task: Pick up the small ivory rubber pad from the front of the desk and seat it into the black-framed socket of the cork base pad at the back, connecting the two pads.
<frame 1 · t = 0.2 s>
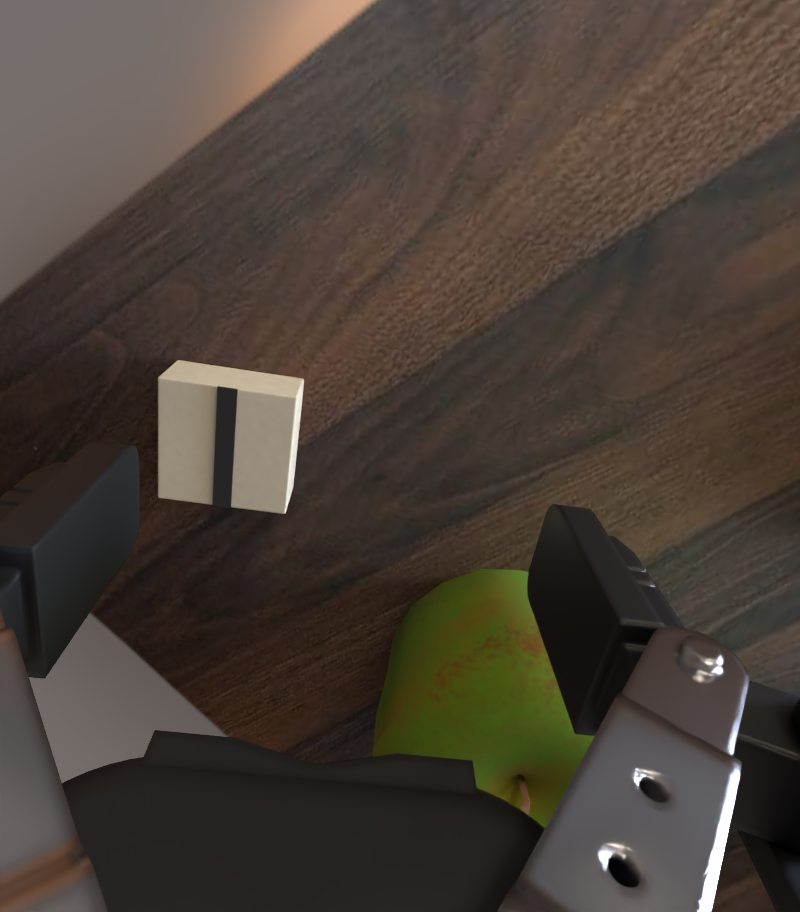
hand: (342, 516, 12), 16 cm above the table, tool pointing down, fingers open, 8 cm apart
apple: (484, 626, 34), on the table
ivory pad: (238, 426, 28), on the table
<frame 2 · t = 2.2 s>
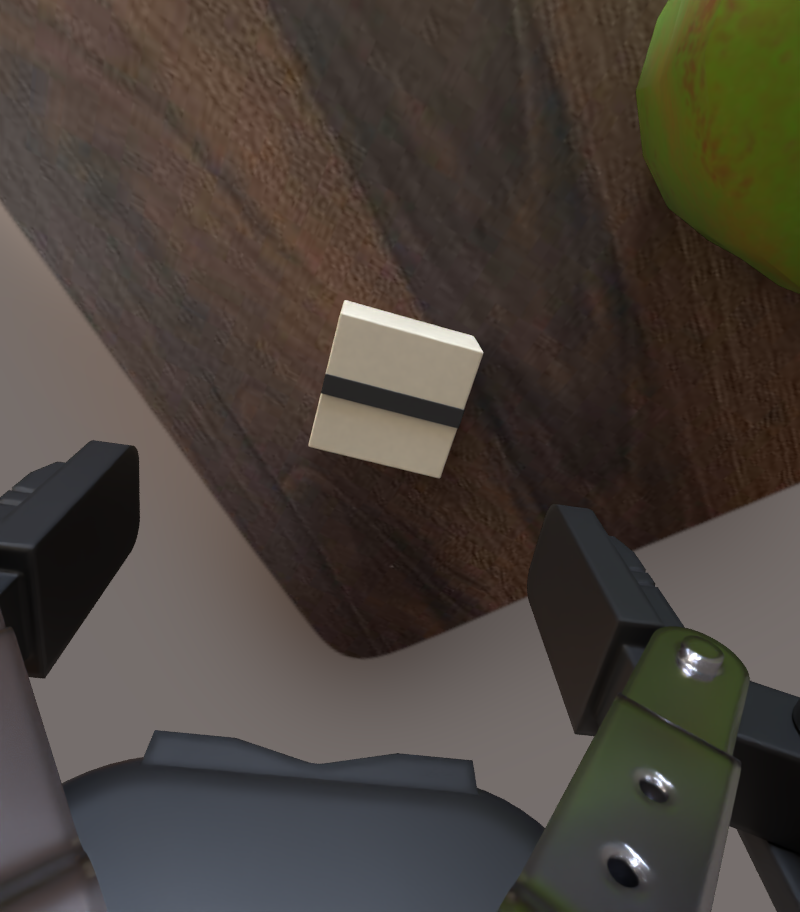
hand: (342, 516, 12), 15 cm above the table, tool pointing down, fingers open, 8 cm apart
apple: (758, 94, 22), on the table
ivory pad: (392, 381, 26), on the table
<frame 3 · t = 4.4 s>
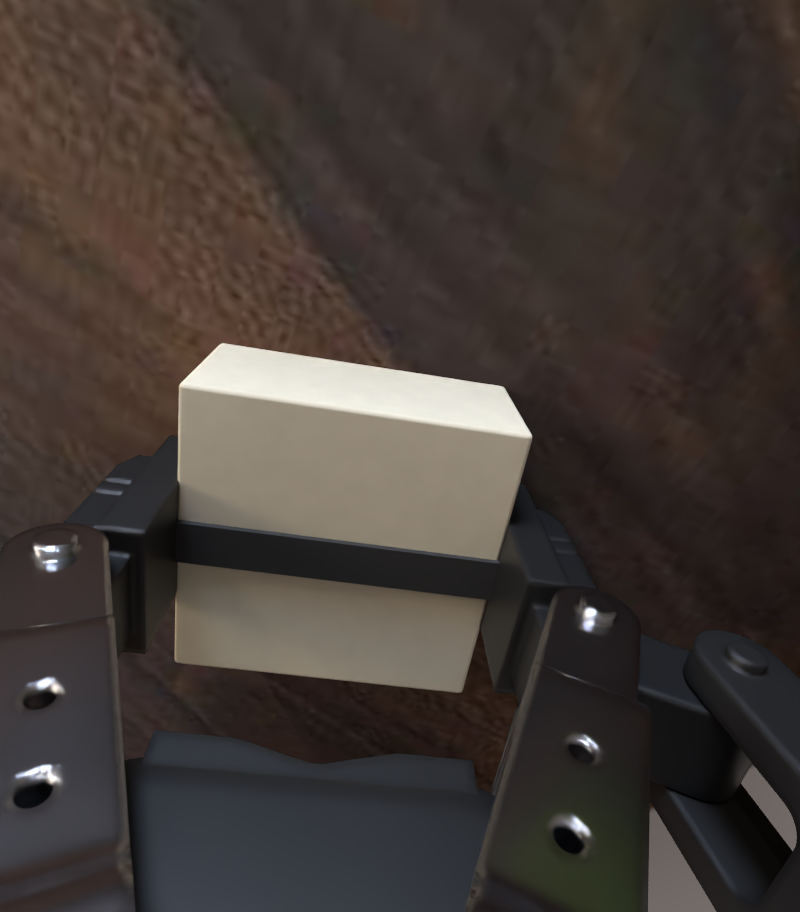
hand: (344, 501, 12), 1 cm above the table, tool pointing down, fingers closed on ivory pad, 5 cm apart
ivory pad: (347, 490, 13), on the table, touching gripper
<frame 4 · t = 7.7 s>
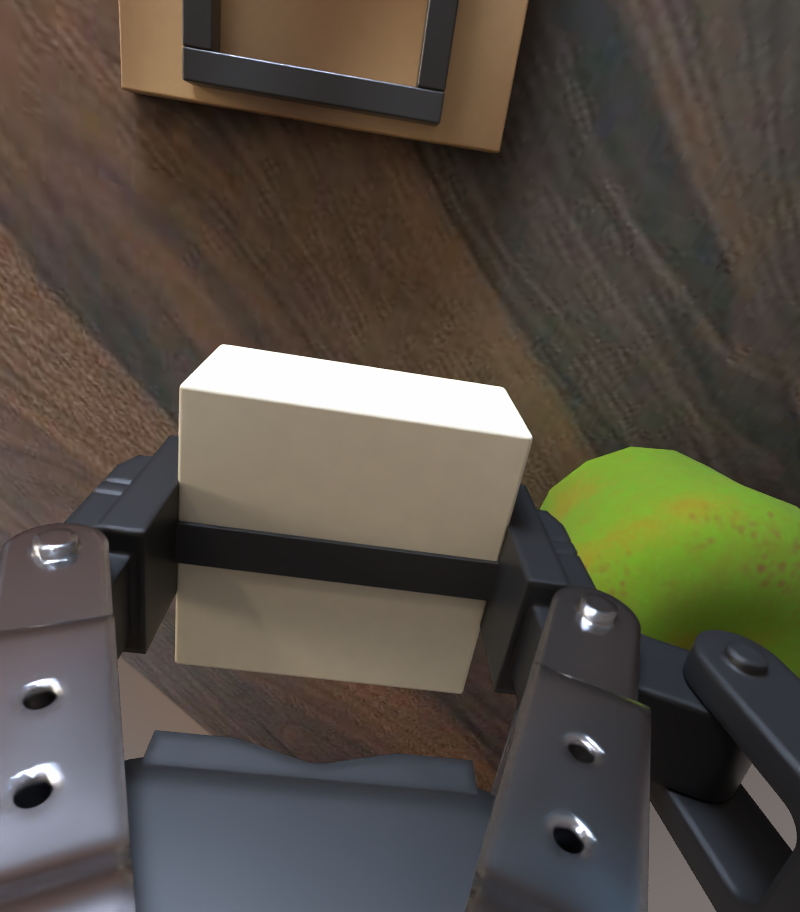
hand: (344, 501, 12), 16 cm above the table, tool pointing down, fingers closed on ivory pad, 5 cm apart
apple: (617, 526, 31), on the table
ivory pad: (347, 490, 13), point 15 cm above the table, touching gripper
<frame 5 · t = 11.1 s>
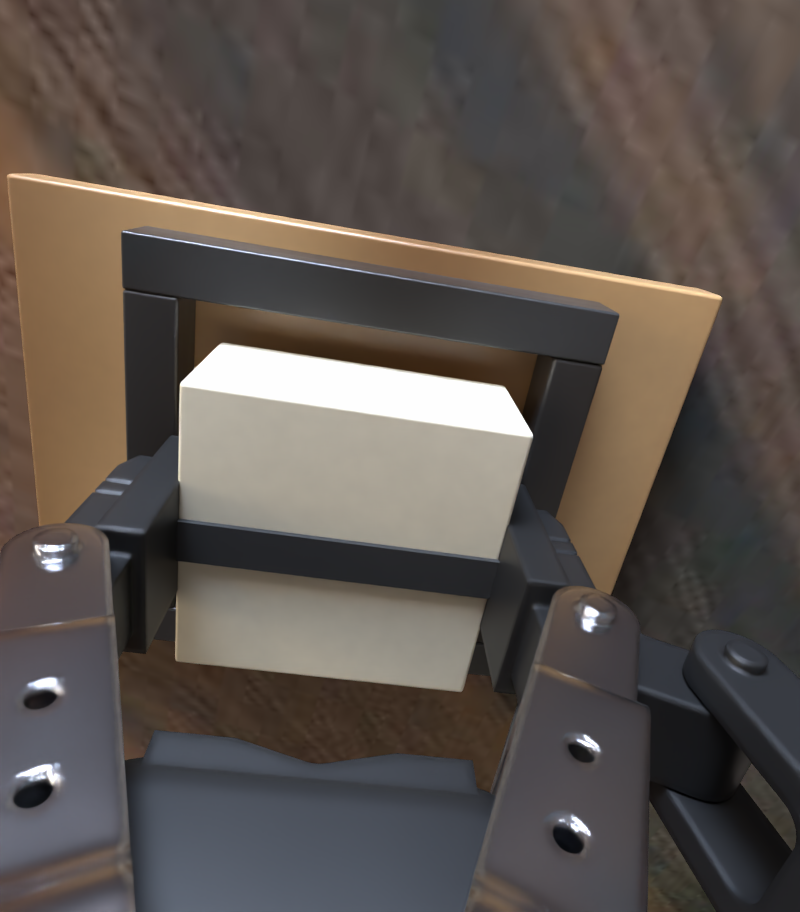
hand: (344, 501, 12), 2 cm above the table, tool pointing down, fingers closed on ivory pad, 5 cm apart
ivory pad: (347, 489, 13), point 2 cm above the table, touching gripper
base pad: (352, 451, 15), on the table
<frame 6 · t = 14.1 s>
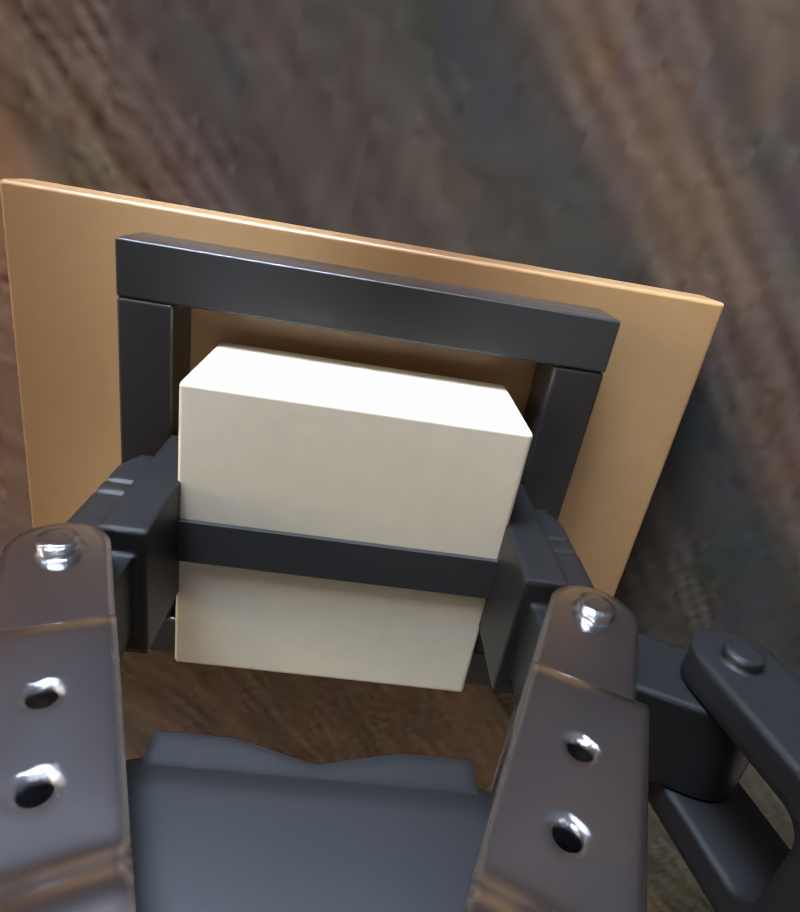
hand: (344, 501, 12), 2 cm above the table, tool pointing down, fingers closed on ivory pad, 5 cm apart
ivory pad: (347, 489, 13), point 2 cm above the table, touching gripper
base pad: (350, 458, 14), on the table
when the fingers open (3 cm above the table, at t = 16.8 s): ivory pad drops 1 cm, resting on base pad.
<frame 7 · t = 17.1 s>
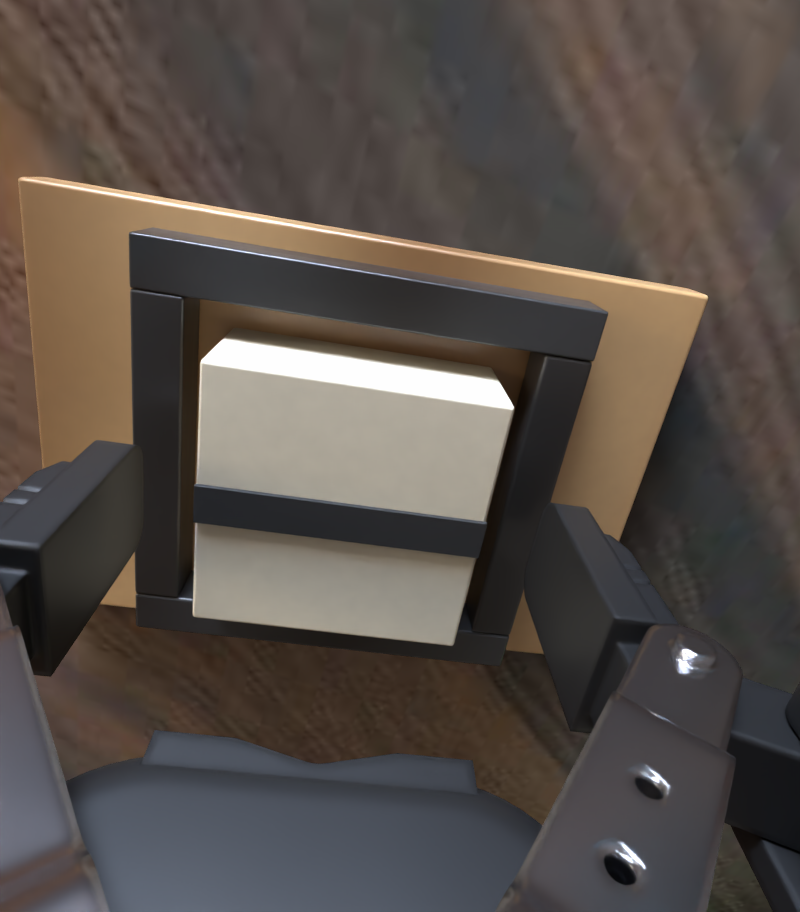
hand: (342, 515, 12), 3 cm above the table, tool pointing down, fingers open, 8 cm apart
ivory pad: (348, 463, 14), point 1 cm above the table, touching base pad
base pad: (351, 446, 15), on the table
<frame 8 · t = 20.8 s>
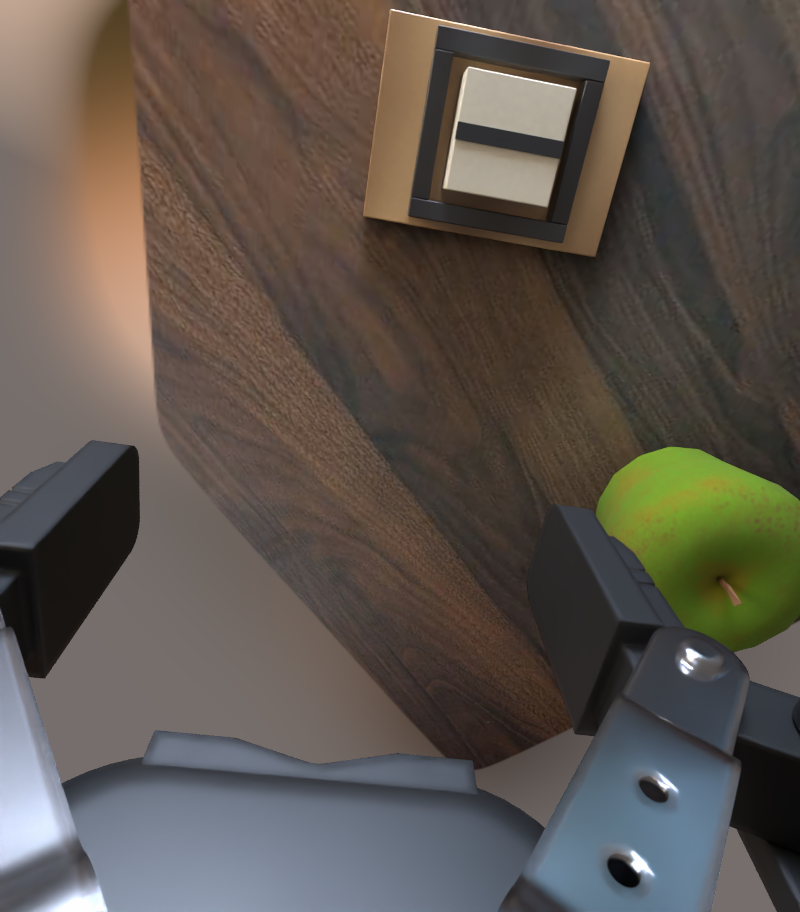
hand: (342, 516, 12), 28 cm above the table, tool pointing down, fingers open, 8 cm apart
apple: (656, 502, 45), on the table
ivory pad: (500, 143, 33), point 1 cm above the table, touching base pad
base pad: (497, 143, 34), on the table
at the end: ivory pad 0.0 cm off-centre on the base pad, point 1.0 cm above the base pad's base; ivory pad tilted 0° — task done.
